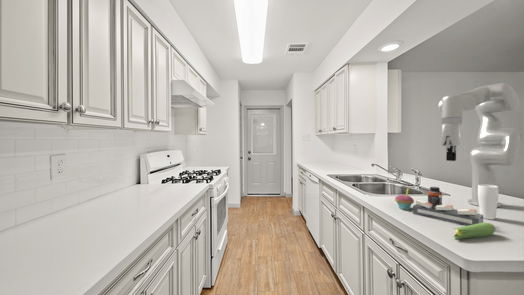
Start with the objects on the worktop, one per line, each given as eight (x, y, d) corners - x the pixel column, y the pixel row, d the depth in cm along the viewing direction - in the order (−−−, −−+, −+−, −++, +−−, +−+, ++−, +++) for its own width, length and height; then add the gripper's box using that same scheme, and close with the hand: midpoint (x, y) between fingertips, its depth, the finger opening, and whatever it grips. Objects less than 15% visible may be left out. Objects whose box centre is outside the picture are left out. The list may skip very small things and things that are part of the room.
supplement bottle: (444, 210, 116) (444, 188, 116) (431, 209, 118) (431, 188, 117) (437, 206, 122) (438, 186, 122) (425, 206, 123) (425, 185, 123)
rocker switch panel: (419, 210, 117) (419, 201, 117) (483, 223, 97) (483, 213, 97) (412, 213, 112) (412, 204, 112) (478, 228, 93) (478, 217, 93)
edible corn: (501, 226, 85) (488, 218, 89) (457, 232, 81) (445, 224, 86) (497, 237, 87) (484, 229, 91) (453, 244, 83) (442, 236, 87)
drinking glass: (493, 216, 106) (494, 184, 105) (501, 221, 100) (501, 187, 99) (474, 214, 109) (475, 184, 108) (481, 219, 103) (481, 186, 102)
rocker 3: (460, 212, 100) (459, 209, 100) (477, 213, 95) (476, 209, 96) (458, 214, 98) (457, 210, 99) (475, 214, 94) (474, 210, 94)
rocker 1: (418, 202, 113) (418, 199, 113) (431, 207, 109) (432, 204, 108) (415, 203, 112) (416, 200, 111) (429, 208, 107) (430, 205, 107)
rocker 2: (438, 208, 107) (437, 205, 107) (453, 208, 102) (452, 205, 102) (435, 209, 105) (435, 206, 105) (451, 210, 100) (450, 206, 100)
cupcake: (413, 207, 122) (413, 185, 122) (414, 211, 115) (414, 188, 115) (395, 205, 127) (395, 184, 127) (394, 209, 120) (394, 187, 119)
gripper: (447, 123, 114) (446, 159, 114) (436, 121, 105) (435, 161, 106) (466, 121, 108) (466, 160, 108) (456, 120, 99) (456, 162, 100)
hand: (451, 160), depth 107 cm, fingers closed
